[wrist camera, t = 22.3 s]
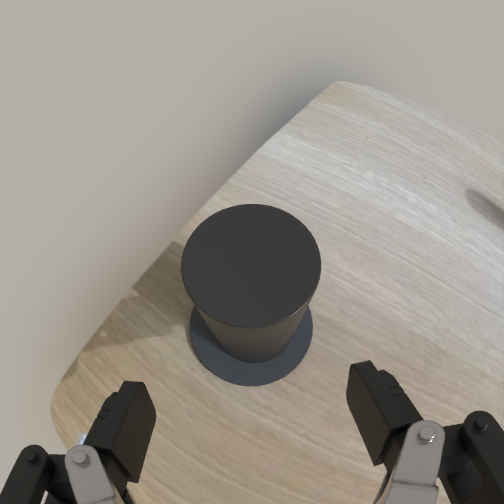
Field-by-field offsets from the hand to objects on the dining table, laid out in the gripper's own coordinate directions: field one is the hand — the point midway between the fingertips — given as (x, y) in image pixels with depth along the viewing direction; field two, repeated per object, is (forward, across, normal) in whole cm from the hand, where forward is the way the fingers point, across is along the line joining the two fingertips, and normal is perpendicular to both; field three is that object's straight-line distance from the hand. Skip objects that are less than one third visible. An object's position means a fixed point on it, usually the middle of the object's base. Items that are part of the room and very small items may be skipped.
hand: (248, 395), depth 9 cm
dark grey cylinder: (+10, 0, -2) cm, 10 cm away
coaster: (+10, 0, -3) cm, 10 cm away
